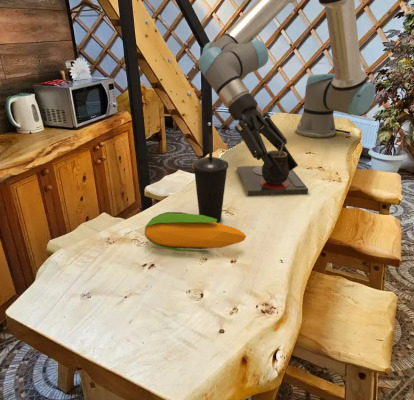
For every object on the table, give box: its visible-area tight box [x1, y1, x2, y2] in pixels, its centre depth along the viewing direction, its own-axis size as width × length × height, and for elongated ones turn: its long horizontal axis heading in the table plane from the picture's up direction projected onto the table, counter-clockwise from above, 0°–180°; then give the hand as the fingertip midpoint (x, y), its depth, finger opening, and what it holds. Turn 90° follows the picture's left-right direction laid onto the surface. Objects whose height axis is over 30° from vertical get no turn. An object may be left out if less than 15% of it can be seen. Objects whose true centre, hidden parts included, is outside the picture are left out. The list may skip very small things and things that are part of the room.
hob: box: [236, 165, 309, 197], centre depth 104 cm, size 16×18×2 cm
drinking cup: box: [192, 133, 229, 223], centre depth 80 cm, size 8×8×20 cm
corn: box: [144, 211, 247, 253], centre depth 72 cm, size 7×8×20 cm
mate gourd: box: [261, 142, 289, 185], centre depth 98 cm, size 7×8×10 cm
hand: (287, 172), depth 96 cm, fingers closed on mate gourd, 7 cm apart
